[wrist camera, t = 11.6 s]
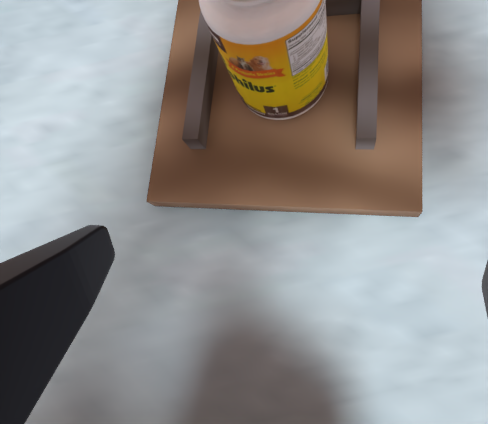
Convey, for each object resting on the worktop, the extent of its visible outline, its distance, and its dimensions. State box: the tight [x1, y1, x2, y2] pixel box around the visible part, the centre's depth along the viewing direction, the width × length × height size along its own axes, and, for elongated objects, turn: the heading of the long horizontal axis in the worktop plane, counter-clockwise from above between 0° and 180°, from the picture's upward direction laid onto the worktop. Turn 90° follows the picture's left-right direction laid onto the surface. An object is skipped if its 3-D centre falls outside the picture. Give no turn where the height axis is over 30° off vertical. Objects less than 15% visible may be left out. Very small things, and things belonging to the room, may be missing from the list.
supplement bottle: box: [199, 0, 329, 120], centre depth 19 cm, size 6×6×10 cm
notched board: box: [147, 0, 422, 217], centre depth 24 cm, size 16×16×3 cm
